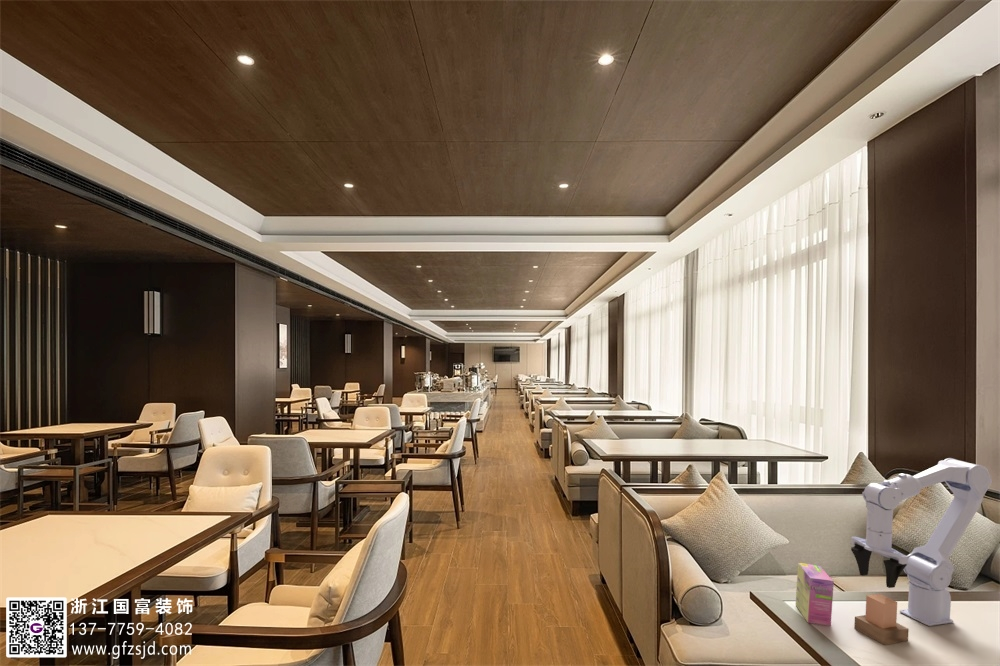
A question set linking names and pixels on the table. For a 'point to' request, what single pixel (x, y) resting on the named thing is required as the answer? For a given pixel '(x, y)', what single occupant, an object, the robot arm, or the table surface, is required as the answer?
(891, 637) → the walnut slab
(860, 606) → the table surface
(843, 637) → the table surface
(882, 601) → the peach cube
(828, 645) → the table surface
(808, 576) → the box
